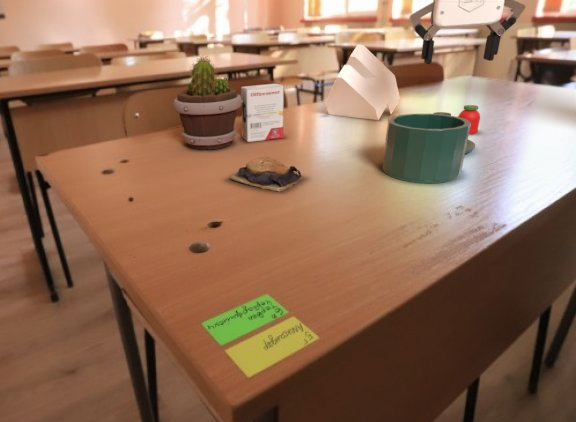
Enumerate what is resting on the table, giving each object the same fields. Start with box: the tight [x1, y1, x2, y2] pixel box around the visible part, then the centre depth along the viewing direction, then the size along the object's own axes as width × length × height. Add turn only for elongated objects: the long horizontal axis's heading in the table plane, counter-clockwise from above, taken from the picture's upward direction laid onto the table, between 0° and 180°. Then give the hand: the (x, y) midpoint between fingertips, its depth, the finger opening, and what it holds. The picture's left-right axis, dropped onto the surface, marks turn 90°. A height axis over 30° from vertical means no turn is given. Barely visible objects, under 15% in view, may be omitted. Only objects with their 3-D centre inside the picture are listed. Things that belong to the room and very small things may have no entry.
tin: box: [382, 113, 471, 184], centre depth 69 cm, size 12×12×8 cm
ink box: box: [240, 83, 285, 143], centre depth 94 cm, size 9×5×12 cm, turn 100°
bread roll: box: [229, 156, 304, 193], centre depth 71 cm, size 11×8×4 cm
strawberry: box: [457, 104, 481, 135], centre depth 89 cm, size 4×4×6 cm
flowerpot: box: [172, 55, 243, 151], centre depth 90 cm, size 14×15×20 cm
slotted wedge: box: [324, 44, 401, 121], centre depth 107 cm, size 14×11×18 cm
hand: (457, 61), depth 75 cm, fingers open, 9 cm apart
